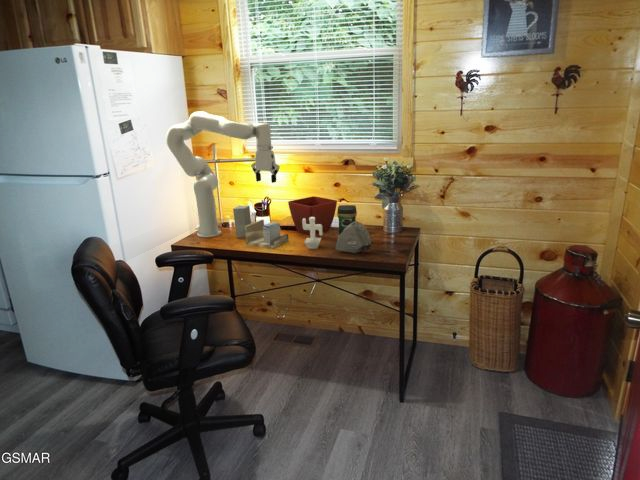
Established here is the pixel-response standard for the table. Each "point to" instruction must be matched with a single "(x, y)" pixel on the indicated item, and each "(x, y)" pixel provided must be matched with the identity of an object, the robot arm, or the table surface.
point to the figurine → (312, 233)
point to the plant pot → (313, 212)
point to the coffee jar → (346, 216)
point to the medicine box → (271, 231)
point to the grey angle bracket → (261, 236)
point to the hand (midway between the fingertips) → (266, 181)
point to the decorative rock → (354, 238)
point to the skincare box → (241, 219)
